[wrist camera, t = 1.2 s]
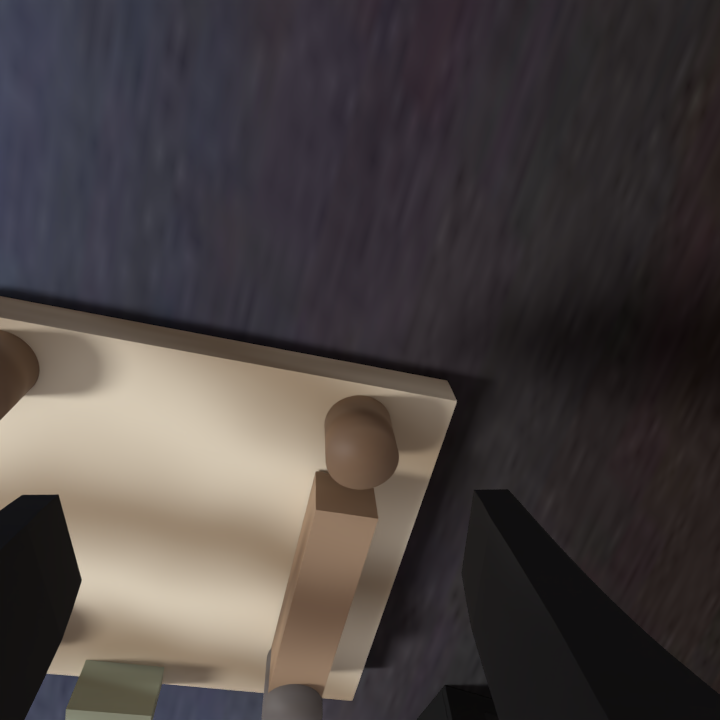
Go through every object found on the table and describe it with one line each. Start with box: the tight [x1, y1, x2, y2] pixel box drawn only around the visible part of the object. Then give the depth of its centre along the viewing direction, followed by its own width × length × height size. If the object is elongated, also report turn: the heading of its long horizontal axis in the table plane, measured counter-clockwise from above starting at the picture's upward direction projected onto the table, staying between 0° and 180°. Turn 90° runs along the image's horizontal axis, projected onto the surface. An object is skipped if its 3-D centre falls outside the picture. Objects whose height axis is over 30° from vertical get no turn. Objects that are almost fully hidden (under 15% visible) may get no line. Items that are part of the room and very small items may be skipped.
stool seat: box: [0, 296, 457, 720], centre depth 20 cm, size 15×16×4 cm
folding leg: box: [262, 471, 378, 720], centre depth 20 cm, size 10×2×2 cm, turn 167°
